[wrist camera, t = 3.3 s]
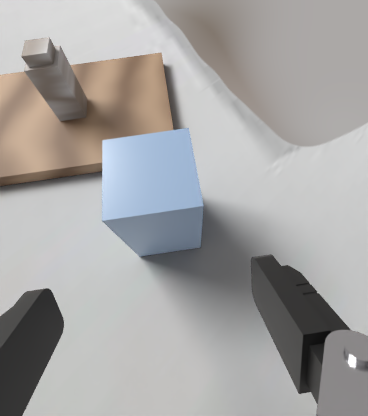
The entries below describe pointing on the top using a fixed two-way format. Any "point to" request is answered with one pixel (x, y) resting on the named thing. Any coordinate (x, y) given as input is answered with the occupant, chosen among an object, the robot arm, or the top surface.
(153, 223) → the light blue block
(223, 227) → the top surface
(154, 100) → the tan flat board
